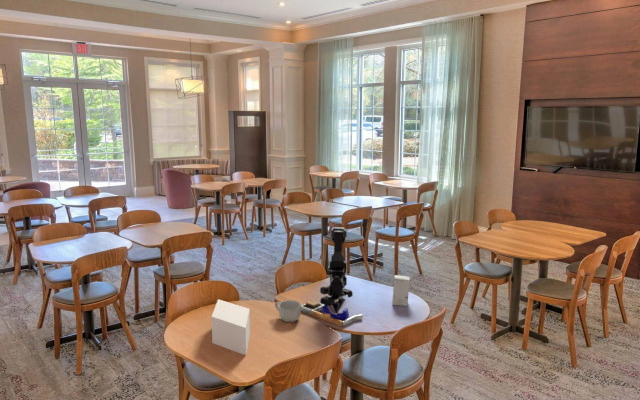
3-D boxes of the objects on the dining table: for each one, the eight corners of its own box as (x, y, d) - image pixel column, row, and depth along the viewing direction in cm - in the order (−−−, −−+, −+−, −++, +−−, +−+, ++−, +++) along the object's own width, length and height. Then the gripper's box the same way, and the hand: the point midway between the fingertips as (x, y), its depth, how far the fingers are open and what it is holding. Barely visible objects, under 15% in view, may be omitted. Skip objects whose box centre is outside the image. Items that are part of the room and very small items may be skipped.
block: (236, 320, 232) (235, 296, 230) (265, 351, 203) (265, 323, 200) (200, 327, 224) (199, 302, 222) (225, 361, 194) (225, 332, 192)
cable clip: (348, 317, 236) (348, 306, 234) (346, 322, 232) (345, 311, 230) (325, 314, 240) (325, 303, 238) (322, 318, 236) (322, 307, 234)
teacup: (305, 319, 234) (305, 304, 232) (289, 326, 226) (289, 310, 225) (285, 311, 243) (285, 296, 242) (269, 317, 235) (269, 302, 234)
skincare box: (392, 305, 254) (393, 278, 251) (392, 300, 259) (394, 274, 257) (408, 306, 252) (409, 279, 249) (408, 302, 258) (409, 275, 255)
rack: (317, 303, 254) (317, 296, 254) (362, 319, 235) (363, 311, 234) (299, 310, 244) (299, 303, 244) (345, 328, 225) (345, 320, 224)
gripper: (336, 275, 248) (335, 303, 251) (312, 284, 235) (311, 314, 238) (353, 280, 241) (352, 309, 244) (329, 290, 227) (328, 320, 230)
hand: (336, 313), depth 239 cm, fingers closed
